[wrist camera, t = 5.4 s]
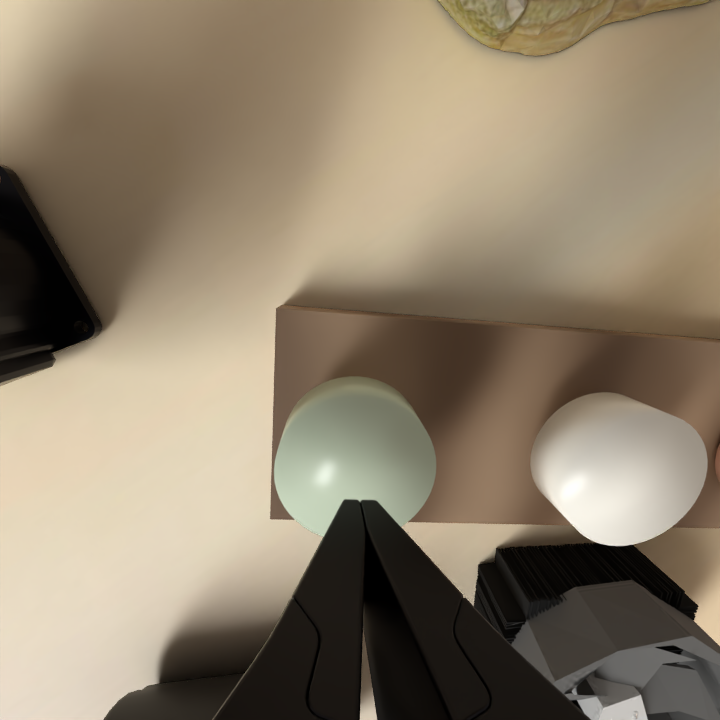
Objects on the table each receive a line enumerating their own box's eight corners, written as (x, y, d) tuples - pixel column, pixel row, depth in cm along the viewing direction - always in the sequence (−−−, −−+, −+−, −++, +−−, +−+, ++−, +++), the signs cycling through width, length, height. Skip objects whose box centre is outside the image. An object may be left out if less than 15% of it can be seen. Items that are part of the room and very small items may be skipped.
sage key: (280, 500, 13) (271, 540, 11) (285, 372, 12) (276, 391, 10) (412, 503, 13) (425, 542, 11) (428, 380, 12) (447, 400, 10)
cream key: (519, 507, 14) (549, 544, 12) (545, 388, 13) (584, 409, 11) (633, 509, 14) (681, 547, 12) (669, 396, 13) (728, 416, 11)
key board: (275, 497, 16) (270, 519, 15) (281, 305, 14) (276, 308, 13) (746, 509, 18) (781, 529, 17) (811, 346, 16) (857, 353, 15)
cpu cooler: (788, 634, 13) (720, 809, 16) (652, 528, 19) (618, 669, 21) (529, 655, 12) (499, 836, 15) (468, 537, 18) (453, 683, 20)
